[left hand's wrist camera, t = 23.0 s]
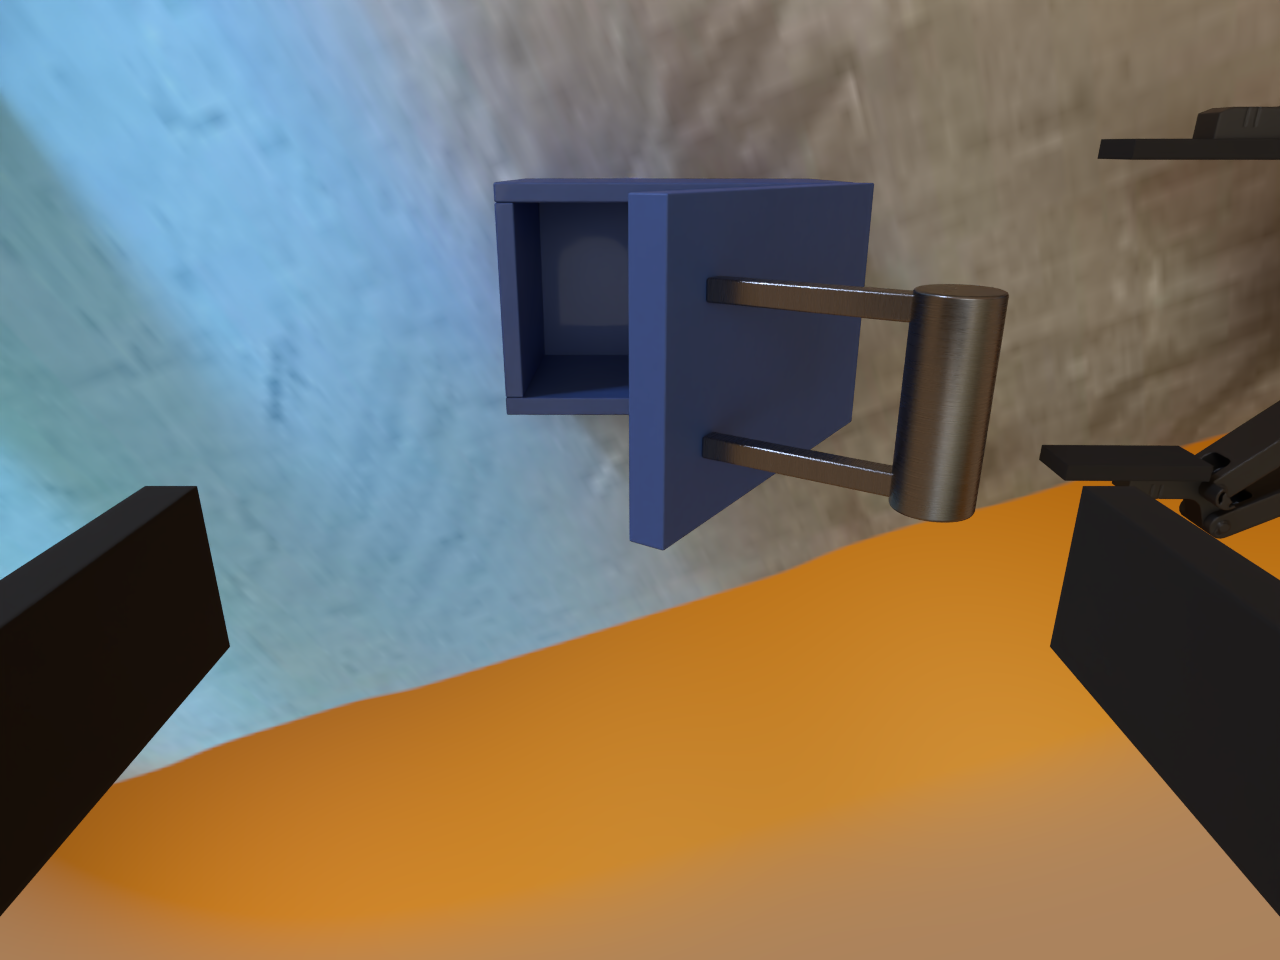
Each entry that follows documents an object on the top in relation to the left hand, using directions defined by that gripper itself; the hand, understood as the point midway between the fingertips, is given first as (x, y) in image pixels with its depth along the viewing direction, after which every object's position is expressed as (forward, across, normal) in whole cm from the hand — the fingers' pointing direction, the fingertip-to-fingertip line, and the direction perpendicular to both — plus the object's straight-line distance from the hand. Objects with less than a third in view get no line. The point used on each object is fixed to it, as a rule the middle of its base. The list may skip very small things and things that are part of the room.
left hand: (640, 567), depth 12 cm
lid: (+18, +4, 0) cm, 19 cm away
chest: (+35, +1, 0) cm, 35 cm away
